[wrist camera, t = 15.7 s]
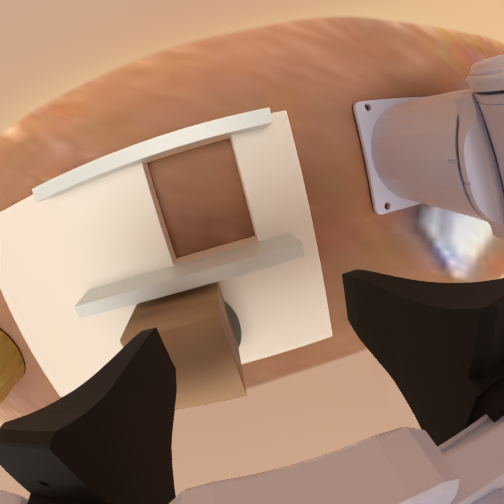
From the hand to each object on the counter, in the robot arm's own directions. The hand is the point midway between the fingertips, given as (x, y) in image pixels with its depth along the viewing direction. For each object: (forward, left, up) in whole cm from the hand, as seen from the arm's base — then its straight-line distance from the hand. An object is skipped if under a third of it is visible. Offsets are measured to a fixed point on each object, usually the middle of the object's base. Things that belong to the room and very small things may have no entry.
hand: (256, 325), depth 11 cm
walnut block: (+4, +3, -7) cm, 9 cm away
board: (+6, 0, -9) cm, 11 cm away
